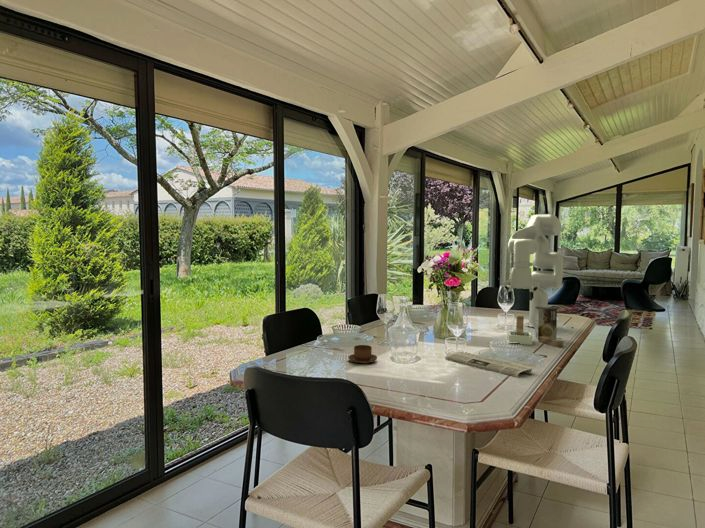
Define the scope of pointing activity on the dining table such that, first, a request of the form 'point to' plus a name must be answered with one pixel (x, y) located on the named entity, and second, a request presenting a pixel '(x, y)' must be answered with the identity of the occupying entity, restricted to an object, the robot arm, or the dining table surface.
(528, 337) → the pale green square tray
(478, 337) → the dining table surface
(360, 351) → the cup and saucer
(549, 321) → the coffee box
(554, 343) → the wooden door wedge
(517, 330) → the wooden square peg
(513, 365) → the newspaper
